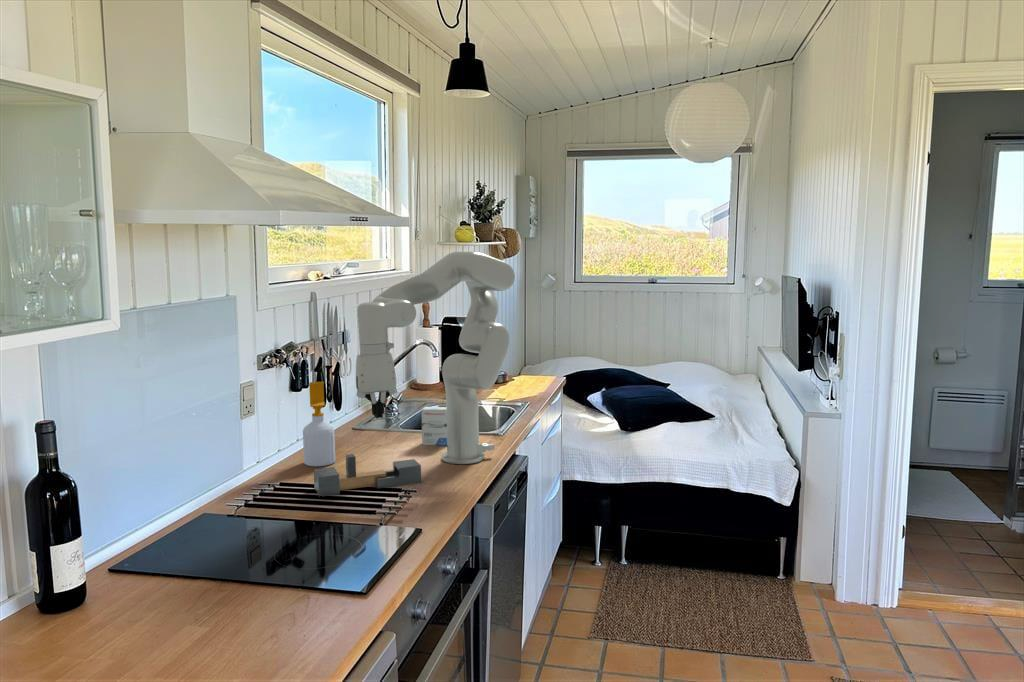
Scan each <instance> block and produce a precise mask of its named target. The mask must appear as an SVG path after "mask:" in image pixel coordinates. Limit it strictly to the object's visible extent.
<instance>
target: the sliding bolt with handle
mask: <svg viewBox="0 0 1024 682" xmlns="http://www.w3.org/2000/svg"><path fill="white" fill-rule="evenodd" d="M356 465H357V464H356V455H355V454H354V453H350V454H345V468H346V470H345V472H346V474H341V475H340V474H339V483H340V491H344V490H345V491H346V490H353V489H361V488H367V487H375V486H376V478H383V477H386V473H385V472H384V471H385V470H384V469H381V470H373V471H365V472H358V473H357V467H356ZM376 487H377V486H376Z"/></svg>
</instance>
